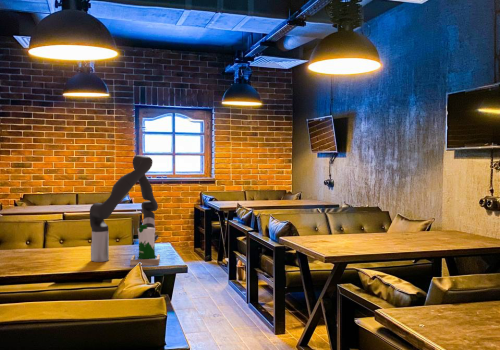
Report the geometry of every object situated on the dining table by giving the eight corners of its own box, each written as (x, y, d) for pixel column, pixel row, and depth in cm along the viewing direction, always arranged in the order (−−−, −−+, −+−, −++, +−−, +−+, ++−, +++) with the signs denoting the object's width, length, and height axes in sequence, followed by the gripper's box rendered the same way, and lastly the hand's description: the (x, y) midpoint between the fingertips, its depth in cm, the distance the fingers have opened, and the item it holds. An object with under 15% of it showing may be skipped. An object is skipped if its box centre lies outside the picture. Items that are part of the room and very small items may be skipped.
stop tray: (132, 260, 285) (132, 255, 285) (159, 259, 288) (159, 254, 287) (130, 265, 271) (130, 260, 271) (158, 264, 273) (158, 259, 273)
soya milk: (136, 258, 291) (135, 224, 290) (148, 256, 298) (148, 223, 297) (144, 260, 285) (144, 226, 284) (157, 258, 292) (157, 224, 291)
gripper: (137, 222, 308) (136, 245, 296) (159, 222, 310) (158, 245, 298) (138, 230, 313) (137, 252, 301) (159, 229, 315) (158, 252, 303)
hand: (147, 248), depth 300 cm, fingers closed
